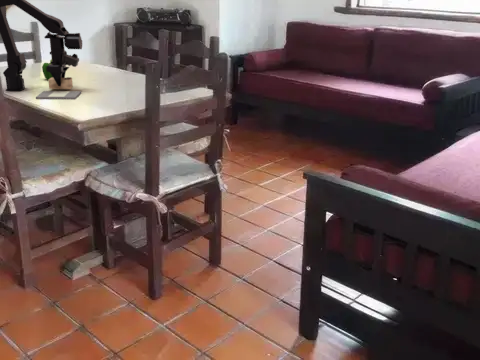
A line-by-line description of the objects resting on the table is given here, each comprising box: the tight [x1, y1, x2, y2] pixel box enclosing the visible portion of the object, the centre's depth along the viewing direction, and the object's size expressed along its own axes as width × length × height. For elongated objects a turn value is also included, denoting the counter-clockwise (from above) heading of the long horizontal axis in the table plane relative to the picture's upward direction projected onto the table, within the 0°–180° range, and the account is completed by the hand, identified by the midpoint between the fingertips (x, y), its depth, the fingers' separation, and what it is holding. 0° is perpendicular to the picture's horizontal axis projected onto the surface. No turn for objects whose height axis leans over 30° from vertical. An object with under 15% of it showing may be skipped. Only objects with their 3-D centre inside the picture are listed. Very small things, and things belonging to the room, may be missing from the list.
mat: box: [35, 90, 82, 100], centre depth 231 cm, size 16×12×1 cm
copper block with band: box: [48, 76, 74, 90], centre depth 241 cm, size 9×5×4 cm, turn 93°
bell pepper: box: [41, 58, 53, 80], centre depth 262 cm, size 8×8×10 cm
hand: (61, 84), depth 241 cm, fingers closed on copper block with band, 5 cm apart
